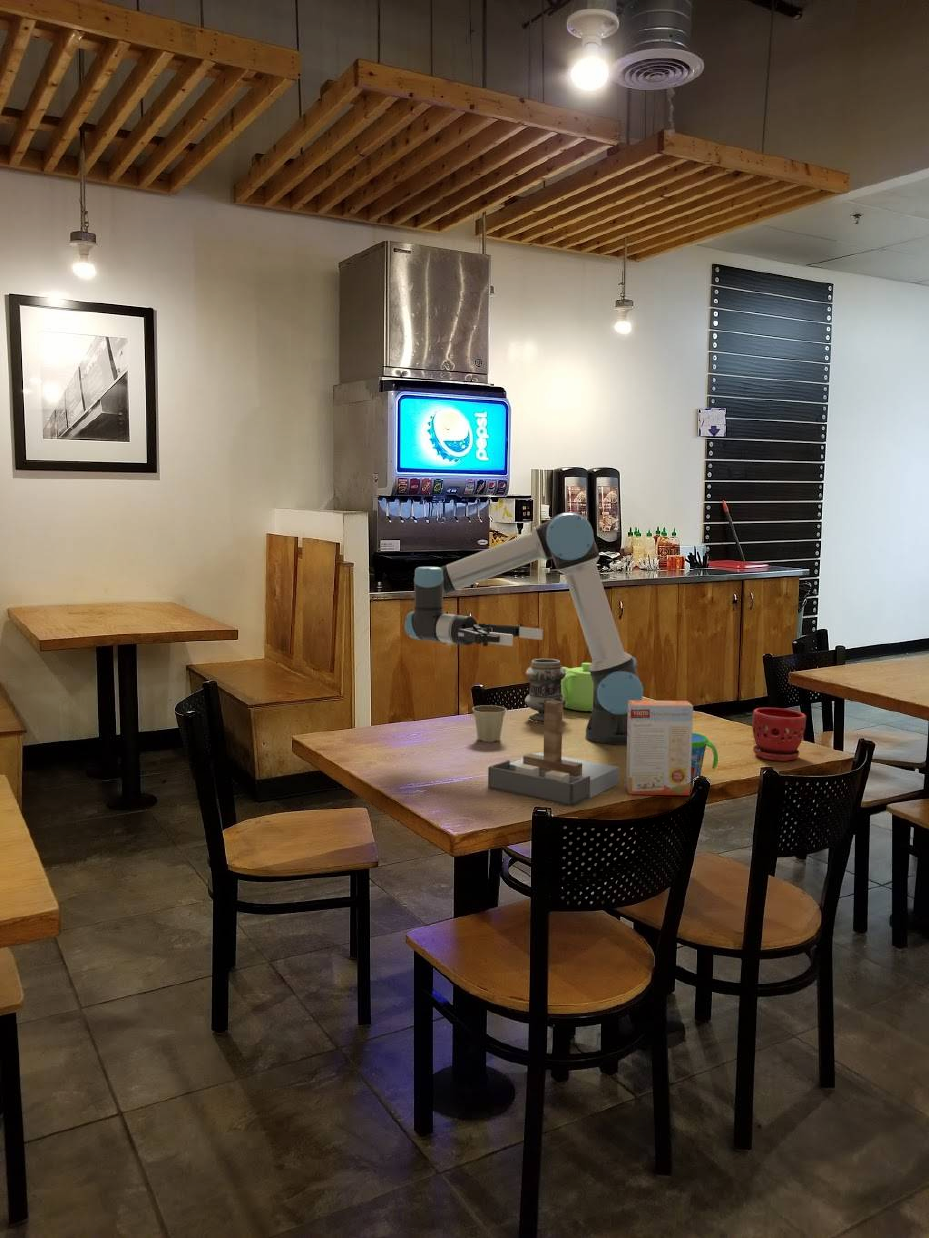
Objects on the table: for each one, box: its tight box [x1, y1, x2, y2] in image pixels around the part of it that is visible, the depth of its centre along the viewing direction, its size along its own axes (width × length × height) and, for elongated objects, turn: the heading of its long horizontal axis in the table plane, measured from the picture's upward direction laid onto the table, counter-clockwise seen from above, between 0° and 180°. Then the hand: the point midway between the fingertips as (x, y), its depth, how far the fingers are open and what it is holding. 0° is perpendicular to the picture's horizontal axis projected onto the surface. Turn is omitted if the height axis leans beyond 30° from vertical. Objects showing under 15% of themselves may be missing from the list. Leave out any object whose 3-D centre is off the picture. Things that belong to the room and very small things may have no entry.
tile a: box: [515, 764, 539, 776], centre depth 230 cm, size 4×4×3 cm
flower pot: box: [471, 704, 508, 743], centre depth 275 cm, size 9×9×9 cm
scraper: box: [522, 700, 582, 777], centre depth 230 cm, size 3×14×16 cm, turn 54°
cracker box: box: [625, 699, 694, 796], centre depth 227 cm, size 14×6×21 cm, turn 88°
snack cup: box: [691, 732, 719, 782], centre depth 239 cm, size 16×10×10 cm
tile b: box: [545, 770, 569, 783], centre depth 225 cm, size 4×4×3 cm
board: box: [510, 751, 620, 799], centre depth 235 cm, size 14×22×4 cm, turn 54°
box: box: [487, 759, 590, 807], centre depth 226 cm, size 8×22×5 cm, turn 54°
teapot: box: [561, 662, 594, 712], centre depth 318 cm, size 19×20×14 cm
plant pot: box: [751, 707, 807, 762], centre depth 260 cm, size 13×13×12 cm
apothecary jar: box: [524, 658, 566, 723], centre depth 300 cm, size 12×12×18 cm
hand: (527, 637), depth 247 cm, fingers open, 13 cm apart
